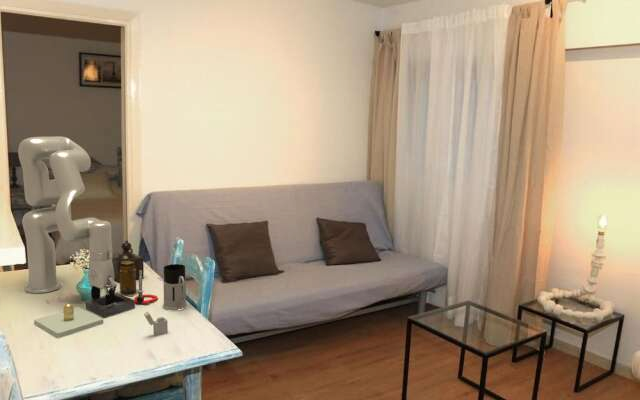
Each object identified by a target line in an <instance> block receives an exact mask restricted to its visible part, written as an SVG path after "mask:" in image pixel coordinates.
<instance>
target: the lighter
mask: <svg viewBox="0 0 640 400" xmlns="http://www.w3.org/2000/svg"><path fill="white" fill-rule="evenodd" d="M143 315H144V317H145V319H146V320H147V322H148V324H149V325H150V326H152V325H153V329H152V330H153V335H154V336H160V335H165V334H167V333H168V331H169V330H168V327H169V325H168V319H167V318H165V317H163V316H161V317H157V318H156V320H154V319H153V317H152V316H151V314H150V313H149V311H146V312H145V313H144V314H143Z"/></svg>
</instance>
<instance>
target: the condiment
mask: <svg viewBox="0 0 640 400" xmlns="http://www.w3.org/2000/svg"><path fill="white" fill-rule="evenodd" d="M120 266H121V267H120V268H121V269H120V272H119V274H120V283H119V291H115V293H119V294H121V295H123V296H126V297H134V296H137V295H138V291H139V288H138V289H137V281H136V269H135V263H134V262H133V261H124V262H122V263H121V264H120ZM143 292H145V290H143Z"/></svg>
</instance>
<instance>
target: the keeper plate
mask: <svg viewBox="0 0 640 400" xmlns="http://www.w3.org/2000/svg"><path fill="white" fill-rule="evenodd" d="M73 311H74V320H72V321H64V314H63V311H60V312H56V313H52V314H49V315H46V316H43V317H38V318H35V319H33V323H34V325H35V326H37V327H39V328H40V329H42V330H43V331H45V332H47V333H49V334H50V335H52V336H53V337H55V338H57V339H60V338H63V337H65V336H69V335H72V334H74V333H78V332H81V331H84V330H87V329H91V328H94V327H96V326H99V325H103V324H104V318H103V317H101V316H99V315H97V314H95V313H93V312H91V311H89V310H87V309H83V308H82V307H79V306H77V307H75V308H74V307H73Z"/></svg>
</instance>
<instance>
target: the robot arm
mask: <svg viewBox="0 0 640 400" xmlns="http://www.w3.org/2000/svg"><path fill="white" fill-rule="evenodd" d="M17 154H18V159H19V162H20V165H21V168H22V173H23V174H22V175H23V176H22V178H23V189H24V191H23V192H24V199H25V202H26V203H27V204H28V205H29V206H32V207H42V206H48V205H51V207H45V208H44V207H43V208H37V209H33V210H30V211H28V212H26V213H25V214H24V215H23V217H22V219H21V222H22V223H21V224H22V227H23V231H24V236H25V241H26V251H27V252H26V255H27V268H28V270H27V271H28V283H29V284H27V285H25V287H24V290H25V292H27V293H30V294H45V293H50V292H53V291H57V290H59V289H60V288H61V287H62V282H61V281H59V280H57V262H56V245H55V241H54V240H53V238H52V237H51V236H50V235H49V233H53V232H57V231H59V233H60V236H61V238H62V239H63V240H64V241H65V242H68V243H74V242H80V241H85V240H88V244H89V245H88V250H89V251H88V252H89V262H88V278H87V279H88V284H89V287H90V288H91V289H90V293H91V294H90V295H91V299H95V298H98V297H101V290H103V289H104V292H105V294H104V296H105V303H106V305H105V306H111V305H114V304H116V303H115V299H114V293H115V292H116V290H117V287H118V286H117V285H118V284H117V282H116V281H114V270H113V263H112V256H113V241H112V240H113V237H112V224H111V222H109V221H108V220H101V219H98V218H96V217H92V216H91V217H85V218H79V219H74V220H73V219H72V208H71V207H72V206H71V203H72V202H73V200H74V199H76V198H77V197H79V196H81V195H83V193H84V192H85V190H86V187H85V184H84V181H83V178H82V175H81V173H82V172H83V173H84V172H87V171H88V170H90V168H91V165H92V161H91V157H90V156H89V154H88V152H87V151H86V150H85V149H84V148H83V147H82V146H80V145H79V144H77V142H74V141H73V140H71V139H70V138H68V137H66V136H61V135H60V136H58V135H57V136H54V135H53V136H33V137H32V136H31V137H28V138H25V139H23V140H22V141H21V142H20V143H19V145H18V149H17ZM43 160H48V162H49V167H50V169H51V171H52V175H53V178H54V179H50V176H49V175H50V173H49V169H48V166H47V165H46V163H45V162H44V161H43ZM80 172H81V173H80Z"/></svg>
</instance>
